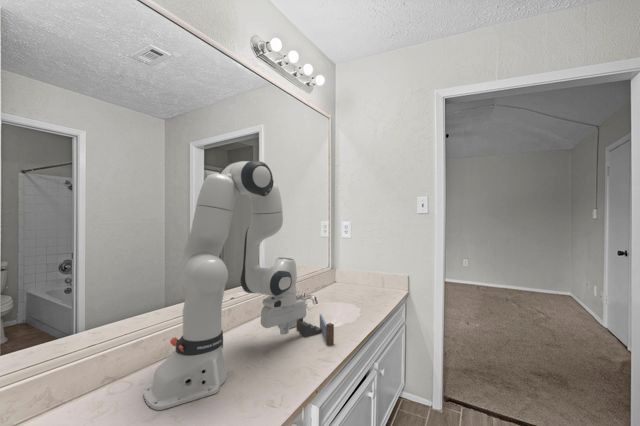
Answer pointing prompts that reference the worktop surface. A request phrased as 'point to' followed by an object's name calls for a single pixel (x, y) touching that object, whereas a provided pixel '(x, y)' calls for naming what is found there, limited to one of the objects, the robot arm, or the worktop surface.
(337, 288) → the worktop surface
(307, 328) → the doorstop wedge
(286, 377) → the worktop surface
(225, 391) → the worktop surface
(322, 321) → the door
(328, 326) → the door frame
